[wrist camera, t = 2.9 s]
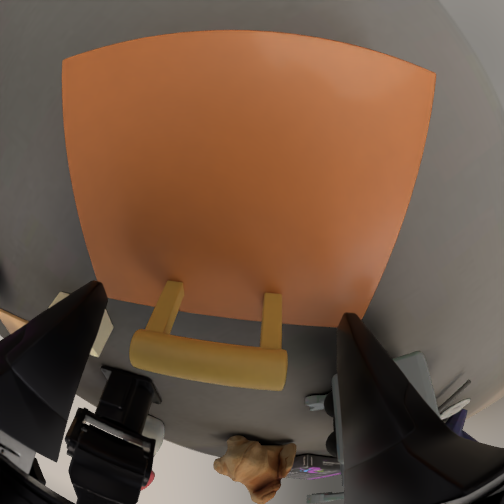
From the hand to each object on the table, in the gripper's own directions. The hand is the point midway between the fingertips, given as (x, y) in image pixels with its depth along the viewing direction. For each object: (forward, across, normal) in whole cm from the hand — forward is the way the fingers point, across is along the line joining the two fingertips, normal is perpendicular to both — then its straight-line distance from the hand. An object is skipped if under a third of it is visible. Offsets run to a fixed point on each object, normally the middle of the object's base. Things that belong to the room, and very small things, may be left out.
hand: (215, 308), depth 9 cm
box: (+6, -19, +58) cm, 61 cm away
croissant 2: (+1, -8, +42) cm, 43 cm away
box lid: (+2, 0, -3) cm, 4 cm away
